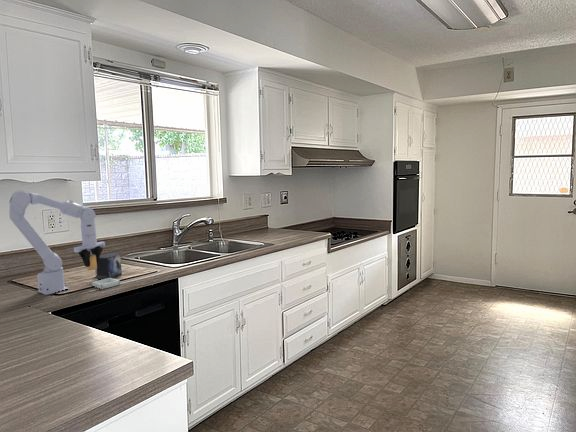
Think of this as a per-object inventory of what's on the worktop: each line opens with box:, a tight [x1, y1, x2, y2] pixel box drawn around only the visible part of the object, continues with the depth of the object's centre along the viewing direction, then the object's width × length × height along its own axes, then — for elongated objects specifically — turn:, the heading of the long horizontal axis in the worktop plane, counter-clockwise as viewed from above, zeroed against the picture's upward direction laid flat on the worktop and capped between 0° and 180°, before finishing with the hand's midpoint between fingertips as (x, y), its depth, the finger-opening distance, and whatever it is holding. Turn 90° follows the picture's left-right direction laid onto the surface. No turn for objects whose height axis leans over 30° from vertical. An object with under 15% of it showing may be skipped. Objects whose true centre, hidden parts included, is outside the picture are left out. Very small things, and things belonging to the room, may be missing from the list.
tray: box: [91, 278, 121, 290], centre depth 189 cm, size 8×8×2 cm
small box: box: [96, 252, 123, 280], centre depth 203 cm, size 11×6×10 cm, turn 167°
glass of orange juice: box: [86, 253, 97, 271], centre depth 191 cm, size 4×4×6 cm
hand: (91, 265), depth 191 cm, fingers closed on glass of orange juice, 4 cm apart
